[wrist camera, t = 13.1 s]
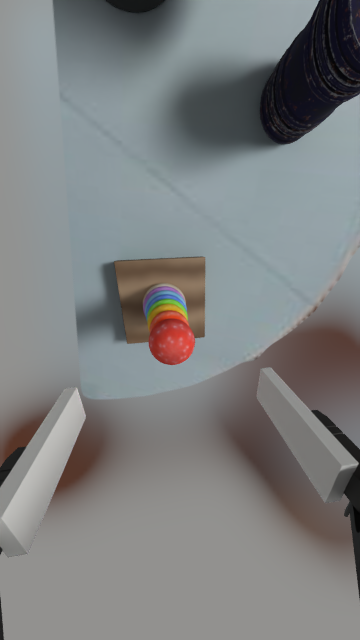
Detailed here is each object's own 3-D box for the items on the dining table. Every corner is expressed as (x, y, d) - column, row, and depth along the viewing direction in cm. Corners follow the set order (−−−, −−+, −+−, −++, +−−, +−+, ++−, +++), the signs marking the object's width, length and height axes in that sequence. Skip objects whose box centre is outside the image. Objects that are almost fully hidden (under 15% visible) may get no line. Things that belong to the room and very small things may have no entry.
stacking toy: (179, 325, 38) (197, 392, 20) (139, 317, 36) (123, 382, 19) (189, 287, 35) (220, 327, 18) (147, 277, 34) (136, 310, 16)
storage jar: (300, 154, 32) (408, 84, 18) (249, 132, 30) (327, 34, 16) (330, 77, 29) (490, -80, 15) (275, 46, 27) (400, -166, 13)
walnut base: (117, 260, 35) (114, 261, 32) (201, 256, 36) (205, 257, 34) (129, 337, 41) (127, 343, 38) (201, 331, 42) (204, 337, 39)
